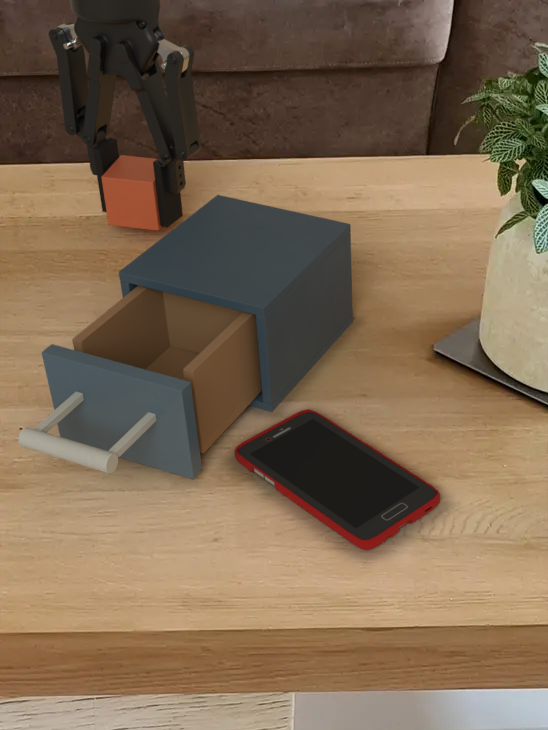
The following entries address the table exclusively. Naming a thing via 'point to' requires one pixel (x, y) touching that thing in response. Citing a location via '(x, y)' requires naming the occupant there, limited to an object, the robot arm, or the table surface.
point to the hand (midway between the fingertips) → (142, 213)
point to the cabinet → (260, 280)
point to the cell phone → (338, 478)
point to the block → (131, 193)
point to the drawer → (149, 384)
